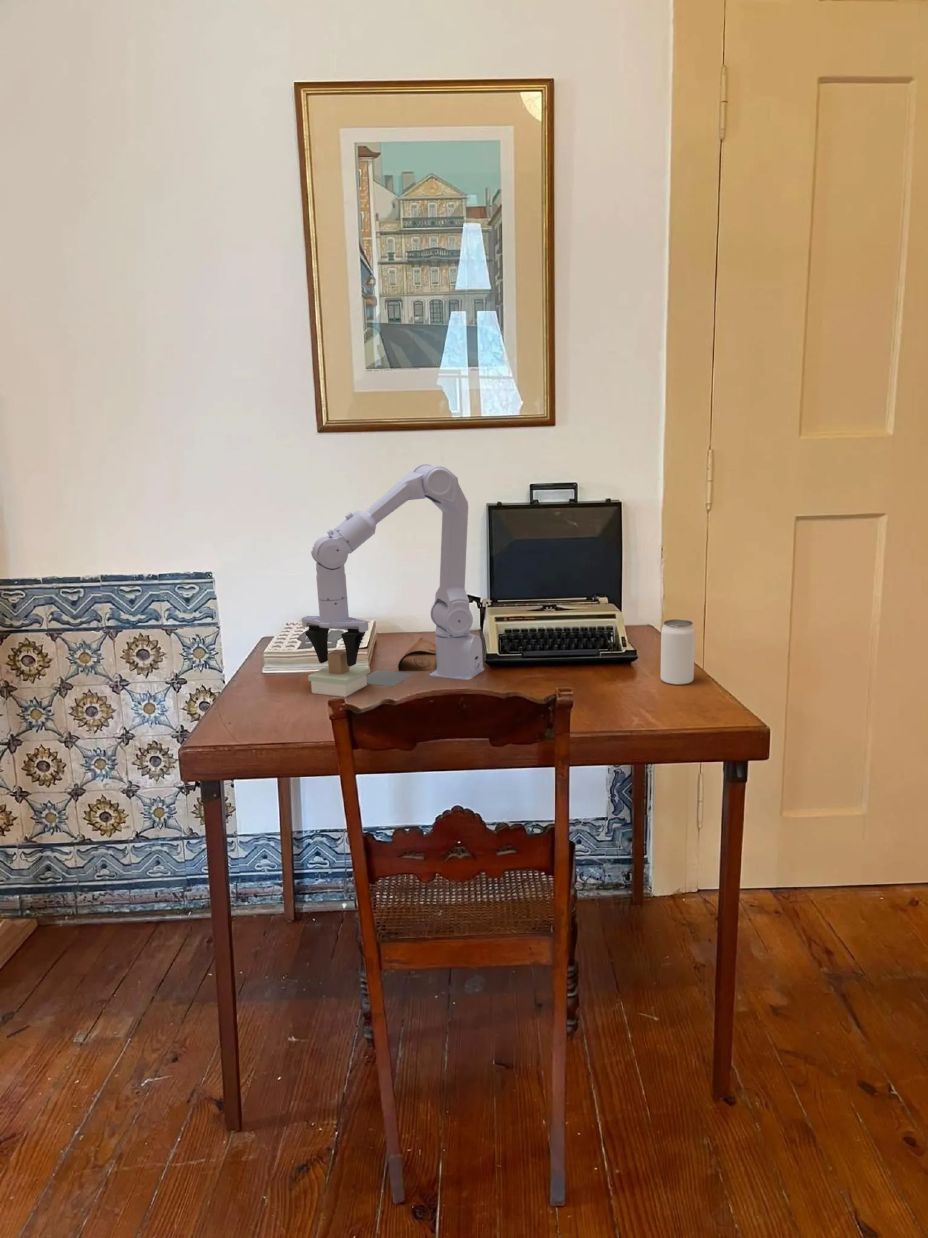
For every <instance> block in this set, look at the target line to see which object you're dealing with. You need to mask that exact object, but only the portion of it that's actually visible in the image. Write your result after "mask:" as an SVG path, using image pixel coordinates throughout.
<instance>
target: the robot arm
mask: <svg viewBox="0 0 928 1238" xmlns="http://www.w3.org/2000/svg"><path fill="white" fill-rule="evenodd" d="M423 499H428V500H430V501H431V502H432V503H433V504H434V505H435V506H436V507H437V508H438V509H439V510H440V511H441V513H442V514H441V515H442V517H441V541H440V543H441V545H440V564H439V565H440V567H439V568H440V569H439V570H440V571H439V587H438V589H437V591H436V592H435V598H434V602H433V605H432V606H431V609H430V618H431V621H432V622H433V623H434V624H435V627H436V628H435V630H434V636H435V637H434V639H435V641H434V642H435V643H434V644H435V645H436V663H437V668H436V669H435V670H433V671H432V672H431V673H429V677H438V678H447V679H456V680H465V681H466V680H467V681H470V680H471V679H473V678H475V677H476V676H477V675H479V674H480V673H482V672H483V671H484V670H485V668H484V666H483V665H484V663H483V643H482V638H481V637H480V636H479V635H476V634H472V633H470V629H471V628H472V625H473V622H474V621H473V620H474V619H473V614H472V611H471V609H470V599H469V597H468V595H467V594H468V593H467V591H466V587H465V586H466V566H467V565H466V564H467V547H468V546H467V541H468V522H469V521H468V520H469V502H468V500H467V498H466V496H465V494H464V491H463V489H462V488H461V486H460V484H459V478H458V477H457V476H456V474H454V473H453V472H452V471H451V470H450V469H448V468H447V467H445V466H442V465H437V466H435V465H431V464H426V463H425V464H420V465H418V466H417V467H415V468H414V469H413V471H410V472H408V473H406V474H405V475H404V476H403V477H401V479H400V480H398V482H396V483H395V484H394V485H393V486H392V487H391V488H390V489H389V490H388V491H387V492H385V493H384V494H383V495H382V496H381V497H380V498H378V500H376V502H374V503H373V504H372V505H371V506H370V507H369V508H367V509H366V510H365V511H360V510H356V511H354V512H353V513H352V512H348V513H347V514H345V519H344V520H343V521H342V522H341V523H340V524H339V525H338V526H336V527H335V528H334V529H333V530H332V529H329V530H328V531H327V532H326V533H327V536H322V537H320V538H317V540H316V541H315V542H314V543H313V546H312V550H311V551H310V554H311V557H312V559H313V560H314V561H315V566H316V569H315V571H316V588H317V589H316V590H317V600H318V614H319V615H306V616H303V617H301V625H302V628H308V629H307V630H305V632H304V634H305V636H306V638H307V639H309V641H310V643H311V645H312V647H313V649H314V651H315V653H316V656H317V659H318V663H319V664H324V663H326V662H328V654H329V648H328V644H329V643H328V640H329V630H330V629H333V630H343V631H345V632H343V633H341V635H340V636H341V639H342V641H343V644H344V648H345V651H346V658H347V664H348V666H350V667H351V666H356V665H357V659H358V654H359V650H360V646H361V644H362V641H363V639H364V636H365V635H366V632H367V631H369V620H364V619H361V618H360V619H359V618H355V617H350V616H349V604H348V590H347V577H346V571H345V570H346V569H345V564H346V562H347V560H348V558H349V557H348V556H349V555H350V554H352V553H353V552H354V551H356V550H357V549H358V548H360V547H361V546H362V545H363V544H364V543H365V542H366V541H367V540H369V539H370V538H371V537H372V536H374V535H375V534H376V528H377V527H376V526H377V524H379V523H380V522H381V521H383V520H384V519H385V518H386V517H388V516H389V515H390V514H392V513H393V512H394V511H396V510H397V509H399V508H400V507H401V506H402V505H404V504H405V503H407V502H408V501H413V500H423Z"/></svg>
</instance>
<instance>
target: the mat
mask: <svg viewBox="0 0 928 1238" xmlns="http://www.w3.org/2000/svg"><path fill="white" fill-rule="evenodd" d="M413 675H414V673H408V672H402V671H399V672H398V671H390V670H381V669H377V670H375V671H373V672H370V674H369V673H368V674H366V679H367V685H374V686H385V687H393V688H394V687H395V686H396V685H398V684H399V683H402V682H404V681H405V680H407V679H409V678H410V677H411V676H413Z"/></svg>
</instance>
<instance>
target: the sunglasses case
mask: <svg viewBox="0 0 928 1238" xmlns="http://www.w3.org/2000/svg"><path fill="white" fill-rule="evenodd" d="M397 670H398V671H399V672H429V671H435V670H437V663H436V643H433V642H429V640H427V639H425V638H424V637H420V638H419V639H418V641H417V642H416V643H414V645H412V646H411V647H410V648H409V649H408V651H406V653H405V654H404V655H403V656H402V657H401V659H400V660H399V662H398V664H397Z"/></svg>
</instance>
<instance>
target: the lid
mask: <svg viewBox="0 0 928 1238" xmlns="http://www.w3.org/2000/svg"><path fill="white" fill-rule="evenodd" d="M327 665H328V666H327ZM327 665H326V666H325V667H323V668H321V669H319V670H318V671H315V672H313V673H311V674H309V675H307V681H309V682H311V681H316V682H324V683H333V684H341V685H347V684H349V683H351V682H353V681H355V680H357V679H359V678H360V677H362V676H364V675H366V676H367V675H369V673H370V674H371V667H370V666H368V667H367V666H359V665H353V666H351V667H350V666H348V664H347V658H346V650H339V649H338V650H337V649H335V650H332V651H331V652H328V661H327Z"/></svg>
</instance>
